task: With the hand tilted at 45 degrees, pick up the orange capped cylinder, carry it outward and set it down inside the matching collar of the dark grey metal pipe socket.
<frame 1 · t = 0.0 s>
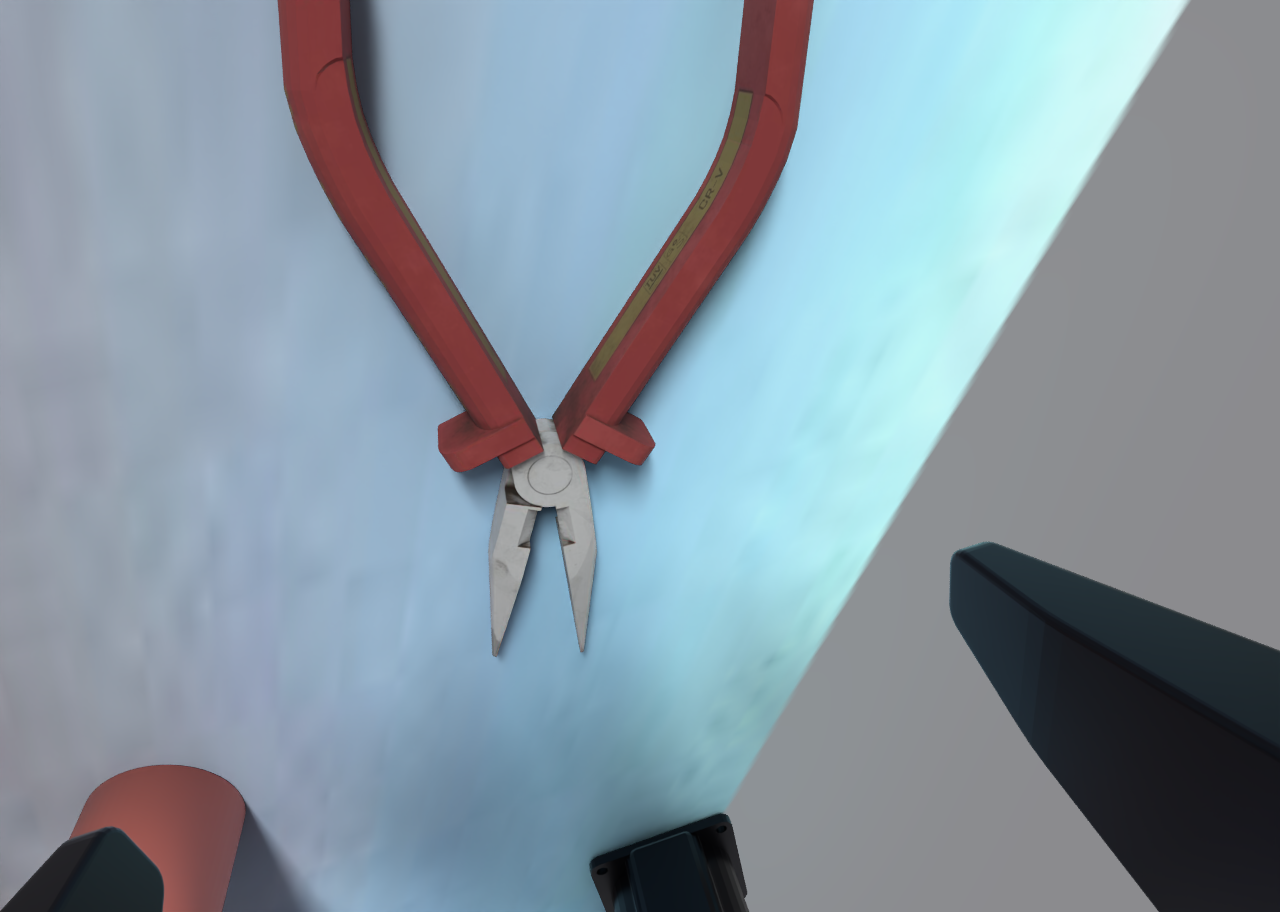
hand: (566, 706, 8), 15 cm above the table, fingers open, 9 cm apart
pliers: (490, 301, 21), on the table
orange capped cylinder: (166, 814, 27), on the table
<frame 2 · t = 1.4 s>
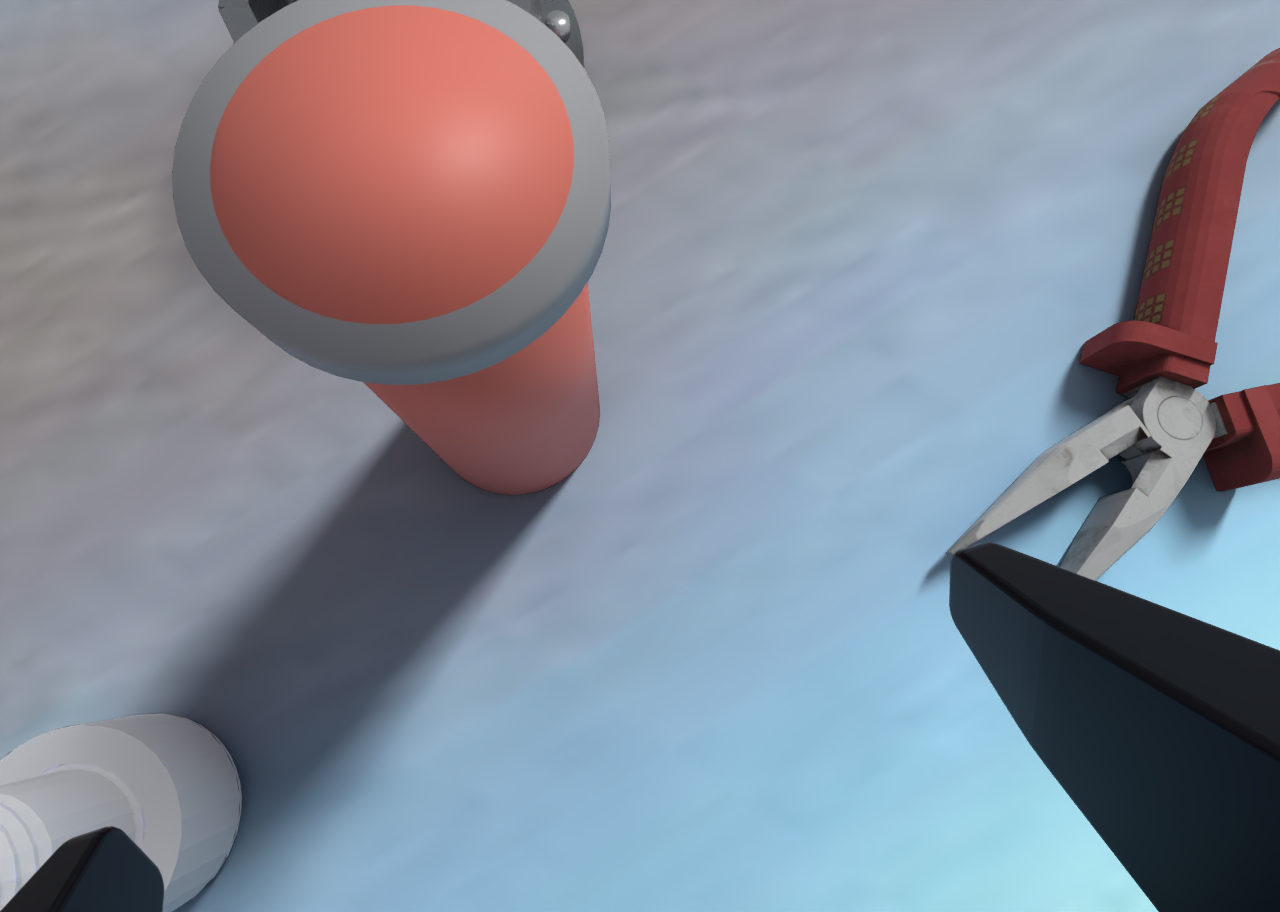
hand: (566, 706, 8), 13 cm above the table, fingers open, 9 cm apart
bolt: (156, 809, 20), on the table
pipe socket: (416, 82, 25), on the table
pliers: (1175, 319, 25), on the table
orange capped cylinder: (516, 412, 23), on the table
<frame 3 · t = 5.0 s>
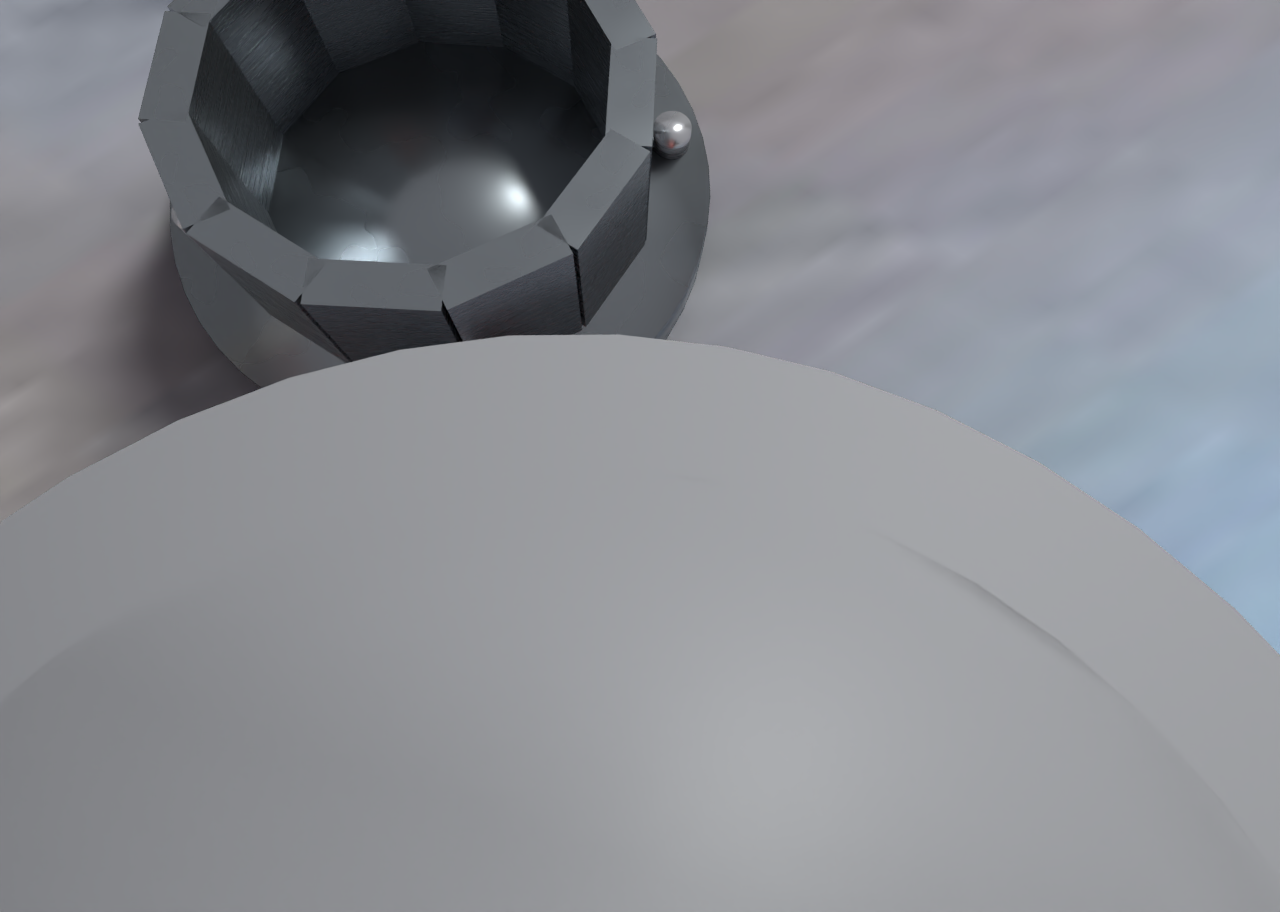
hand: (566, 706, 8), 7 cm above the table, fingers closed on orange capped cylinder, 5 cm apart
pipe socket: (453, 209, 17), on the table
orange capped cylinder: (611, 758, 14), on the table, touching gripper
when the fingers open (8 cm above the table, at t = 9.3 s): orange capped cylinder stays where it is, resting on pipe socket.
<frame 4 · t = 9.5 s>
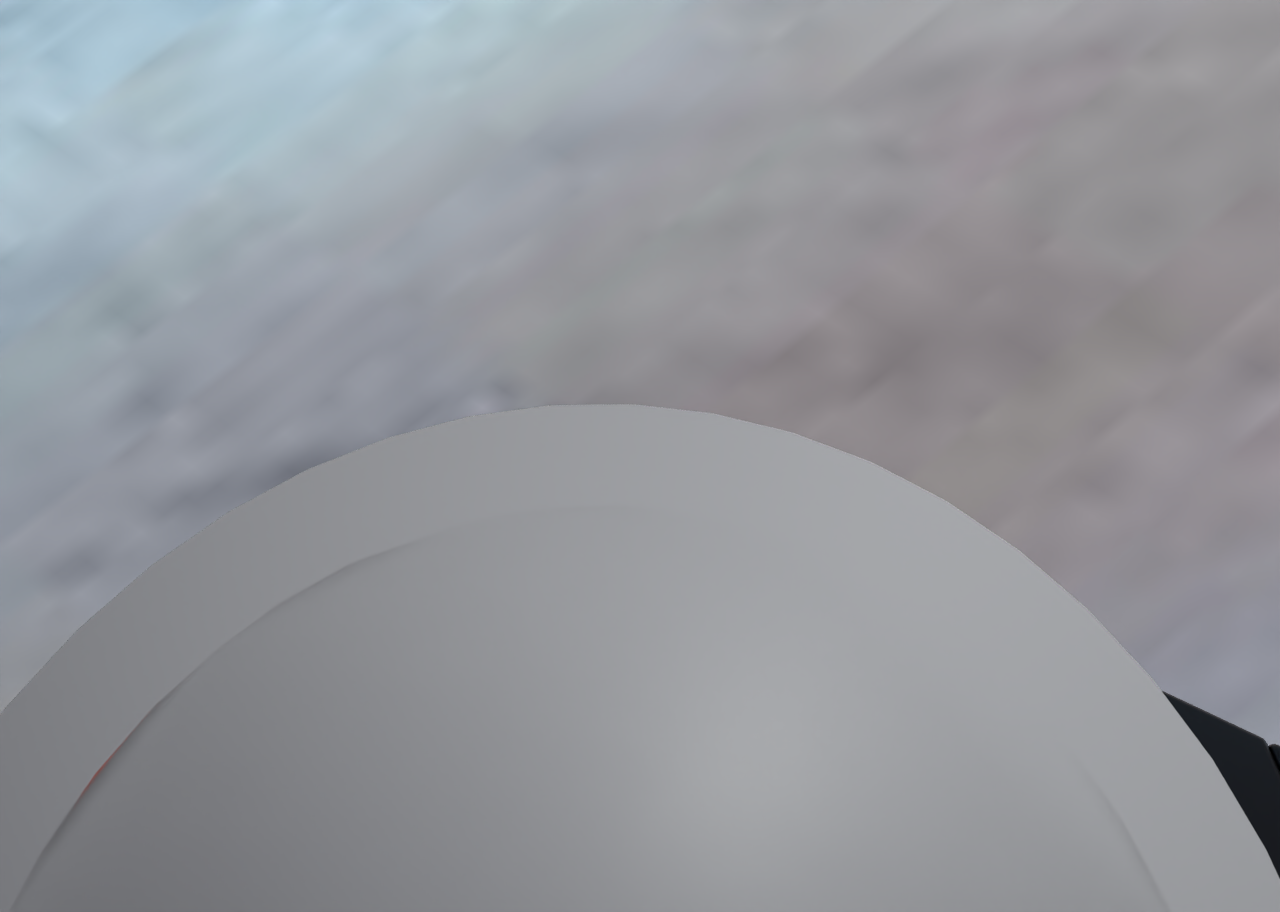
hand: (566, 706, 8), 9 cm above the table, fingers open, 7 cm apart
orange capped cylinder: (614, 760, 15), point 1 cm above the table, touching pipe socket
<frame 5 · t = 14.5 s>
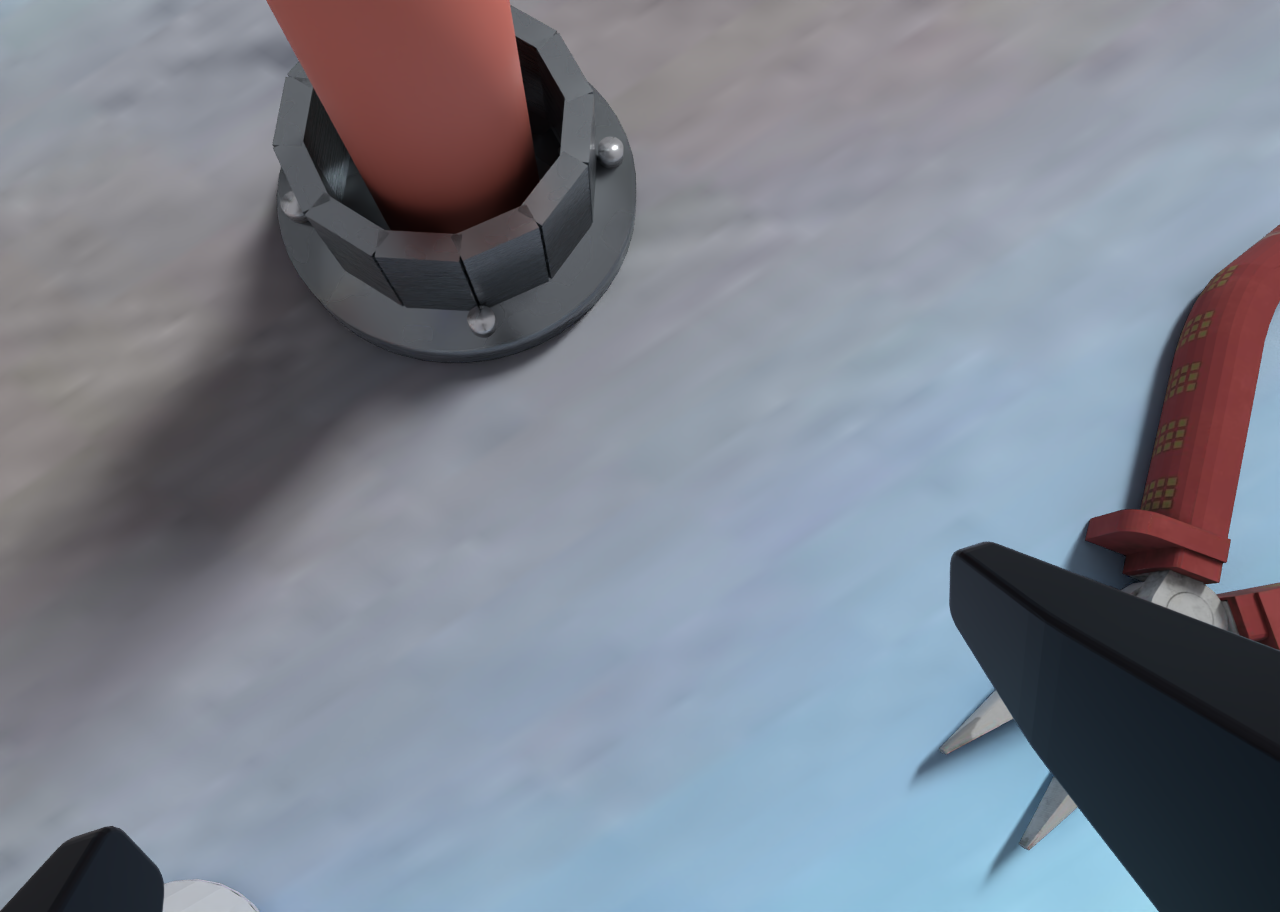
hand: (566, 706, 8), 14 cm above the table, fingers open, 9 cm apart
pipe socket: (464, 202, 25), on the table
pliers: (1187, 491, 24), on the table
orange capped cylinder: (459, 189, 24), point 1 cm above the table, touching pipe socket
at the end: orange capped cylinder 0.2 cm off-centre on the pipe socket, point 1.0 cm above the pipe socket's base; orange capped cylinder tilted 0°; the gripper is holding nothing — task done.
